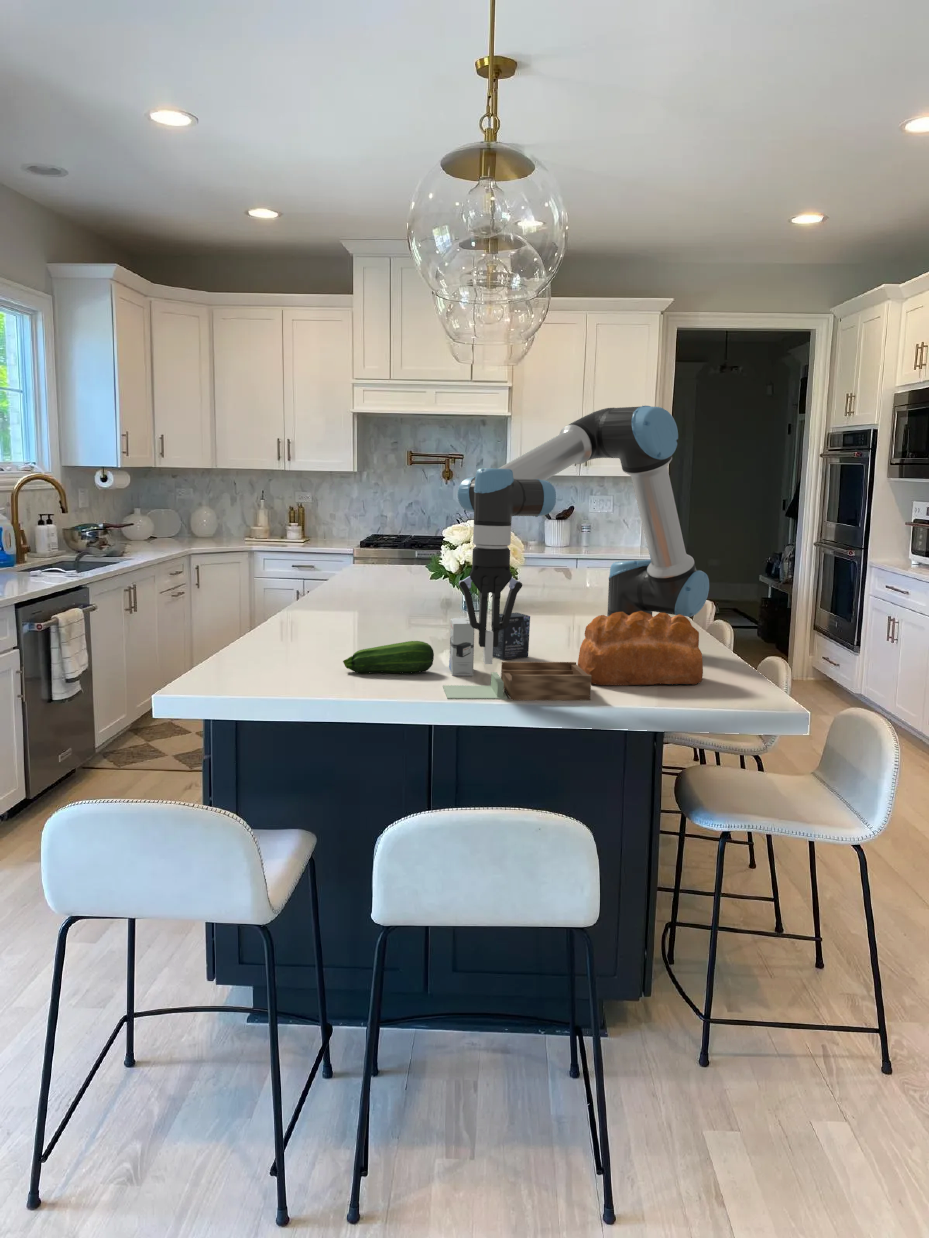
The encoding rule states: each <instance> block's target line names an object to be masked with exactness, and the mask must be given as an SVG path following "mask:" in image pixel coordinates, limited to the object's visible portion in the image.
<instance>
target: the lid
mask: <svg viewBox="0 0 929 1238" xmlns="http://www.w3.org/2000/svg"><path fill="white" fill-rule="evenodd" d="M490 673H491V675H490V685H484V684H483V685H474V684H473V685H467V684H466V685H465V684H464V685H463V684H462V685H461V684H460V685H459V684H456V685H455V684H454V685H452V684H451V685H449V684H448V685H446V684H443V685H442V688H443V692H444V693H445V696H446V699H447V700H508V695H506V692H505V690H504V689H503V688H504V682H503V681H502V679H501V675H500V674H499V673H498V672H497V671H493V672H490Z"/></svg>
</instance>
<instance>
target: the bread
mask: <svg viewBox="0 0 929 1238" xmlns="http://www.w3.org/2000/svg"><path fill="white" fill-rule="evenodd" d="M584 630H585V631H584V637H585V638H584V639H582V642H581V644H580V647H579V652H578V659H577V664H576V665H577V666H579V667H580V668H581V669H582V670H583V671H584V672H586V673H587V674H588V675H591V685H597V686H636V685H637V686H654V684H656V685H663V684H672V686H673V684H692V685H698V684H697V683H699V684H700V683H702V682H703V677H704V665H703V661H704V660H703V653H702V651H701V649H700V648H699V647H700V646H699V644H700V632H699V631H698V630H697V629H696V628H695V627H694V626H693V625H692V623H691V620H689V618H687V616H683V615H680V614H679V615H673V616H672V617H671V616H670V614H666V613H659V612H657V614H656V615H654V616H653V614H652V615H651V614H649V613H646V612H643V611H638V612H634V613H632V614H631V615H627V614H626V613H624V612H616V613H612V614H611V615H610V616H608V617H607V615H606V614H601V615H597V616H596V617H594V618H593V619H592V620H591V622H590V623H587V625H586V626H585V629H584Z"/></svg>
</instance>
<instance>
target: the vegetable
mask: <svg viewBox="0 0 929 1238" xmlns="http://www.w3.org/2000/svg"><path fill="white" fill-rule="evenodd" d="M434 652H435V651H434V649H433V647H432V646H431V645H430V644H429V643H427V642H425V641H420V640H409V641H408V640H407V641H404V642H396V643H391V644H383V645H379V646H374V647H369V648H363V649H359V650H357V651H356V652H354V653H353V655H352V656H349V657H347V658H346V659H344V660H342V663H343V664H344V667H345V668H346V669H348V670H351V671H352V672H354V673H356V674H358V675H359V674H361V675H363V674H364V675H366V674H373V673H374V674H375V673H384V674H385V673H388V674H407V675H408V674H420V673H425V672H426V671H428V670H430V669H431V668H432V666H433V665H434V658H435V653H434Z"/></svg>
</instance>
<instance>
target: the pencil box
mask: <svg viewBox="0 0 929 1238" xmlns="http://www.w3.org/2000/svg"><path fill="white" fill-rule="evenodd" d="M577 665H578V664H577V661H501V669H500V670H501V672H500V678H501V679H502V681H503V682H504V688H503V691H504V693H505V694H507V697H509V699H510V700H511V701H591V692H592V684H591V675H588V674H587V673H586V672H584V671H583V670H582V669H581V668H580V667H579V666H577Z"/></svg>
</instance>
